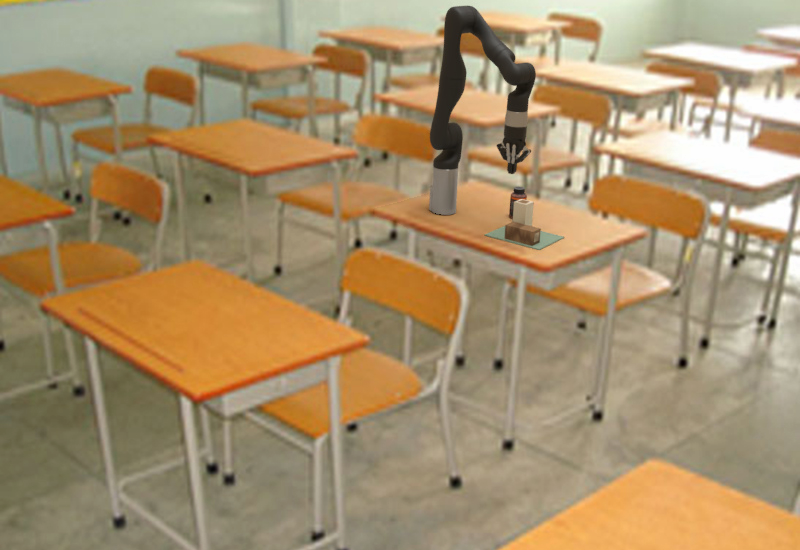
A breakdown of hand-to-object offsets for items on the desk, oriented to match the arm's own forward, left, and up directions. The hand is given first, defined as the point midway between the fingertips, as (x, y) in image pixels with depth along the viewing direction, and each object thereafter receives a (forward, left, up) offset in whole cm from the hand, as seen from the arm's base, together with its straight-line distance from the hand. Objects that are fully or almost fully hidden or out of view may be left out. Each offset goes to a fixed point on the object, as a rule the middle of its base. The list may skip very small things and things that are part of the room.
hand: (511, 173), depth 334 cm
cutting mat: (+5, +3, -22) cm, 23 cm away
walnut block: (+2, -2, -19) cm, 20 cm away
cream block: (+2, +6, -22) cm, 23 cm away
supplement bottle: (-8, +20, -23) cm, 31 cm away
